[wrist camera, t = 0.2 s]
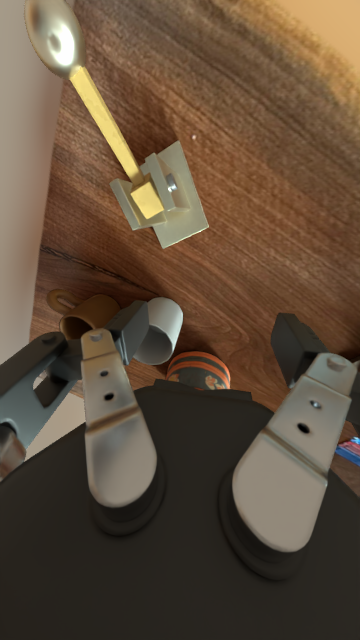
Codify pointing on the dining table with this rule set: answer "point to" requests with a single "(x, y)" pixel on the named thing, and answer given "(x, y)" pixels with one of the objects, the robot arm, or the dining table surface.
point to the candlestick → (356, 363)
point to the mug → (82, 312)
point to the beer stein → (199, 371)
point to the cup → (160, 331)
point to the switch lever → (84, 85)
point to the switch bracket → (166, 198)
